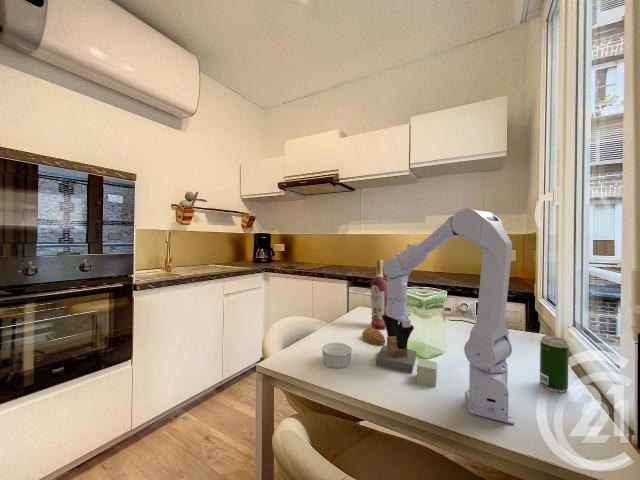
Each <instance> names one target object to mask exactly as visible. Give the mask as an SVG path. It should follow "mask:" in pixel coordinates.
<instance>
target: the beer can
mask: <svg viewBox="0 0 640 480" xmlns="http://www.w3.org/2000/svg"><path fill="white" fill-rule="evenodd" d="M539 342H540V343H539V348H540V349H539V382H540V384H541V386H542V385H543V386H542V387H544V386H545V387H547V388H549V389H553V390H556V391H561V392H560V393H564V392H563V391H566V392H567V391H568V390H569V357H570V355H569V351H570V347H569V345H568V341H567V340H566V339H563V338H559V337H555V336H551V335H550V336H549V335H543V336H541V340H540V341H539ZM545 387H544V388H545ZM547 388H546V389H547ZM549 389H548V390H549ZM556 391H555V392H556Z"/></svg>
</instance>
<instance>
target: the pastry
mask: <svg viewBox="0 0 640 480" xmlns="http://www.w3.org/2000/svg"><path fill="white" fill-rule="evenodd" d="M361 335H362V338H363V339H364V341H365V342H368V343H369V344H372V345H376V346H380V345H385V343H386V339H385V336H384V334H382V332H381V331H380V330H379V329H376V328H374V327H367V328H366V329H364V330H363V332H362V333H361Z"/></svg>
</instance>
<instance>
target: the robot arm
mask: <svg viewBox="0 0 640 480" xmlns="http://www.w3.org/2000/svg"><path fill="white" fill-rule="evenodd" d="M453 238H464V239H466V240H468V241H470V242H472V244H474V245H475V246H476V247H477V248H479V250H480V251H481V252H482V259H481V268H480V276H479V277H480V279H479V289H478V290H479V292H478V300H477V309H476V310H477V313H476V320H475V323H474V324H473V326H472V328H471V330H470V332H469V335H470V336H469V339H468V340H467V341H466V342H465V344H464V348H463V350H464V351H463V352H464V354H465V357H466V360H467V361H468V362H469V371H468V372H469V376H468V377H469V379H468V380H469V383H468V388H466V391H465V392H466V401H467V409H468V413H470V414H471V415H476V416H479V417H483V418H488V419H490V420H491V419H492V420H496V421H499V422H503V423H507V424H515V420H514V418H513V417H514V416H513V415H512V412H511V409H510V406H509V390H508V373H509V372H508V368H509V367H508V363H507V358H509V357H510V356H511V355H512V352H513V346H512V343H511V341H510V337H509V335H510V331H509V329H508V327H507V326H506V324H505V322H506V315H507V314H506V313H507V303H508V293H509V284H510V274H511V273H510V272H511V263H512V253H513V243H512V240H511V239H510V237H509V235H508V233H507V232H506V230H505V228H504V226H503V222H502V219H501V218H499V217H498V216H496V215H495V214H494V213H493V212H490V211H487V210H476V209H473V208H461V209H459V210H458V211H456V212H455V213H454V214H453V215H450V216H449V217H448V218H447V219H446V220H445V221H444V223H442V225H440V226H439V227H438V228H437V229H436V230H434V231H433V232H432V233H431V234H430V235H428V236H427V237H426V238H425V239H423V241H421V242H420V243H418V242H413V243H408V244H407V245H406V247H407V248H405V249H404V250H402V252H400V253H399V252H398V253H397V254H395V257H394V258H393V257H389V258H387V259H386V260H385V261H384V262H383V267H382V269H383V274H384V275H385V276H386V277H387V279H386V281H387V307H385V313H386V315H382V318H383V320H384V323H385V326H386V327H385V329H386V334H387V337H392V336H396V341H397V347H398V349H406V346H407V347H408V342H409V338H410V336H411V334H412V332H413V330H414V329H415V328H414V325H412V324H411V319H410V318H409V317H410V316H411V312H409V311H408V281H409V276H410V275H411V273H412V271H413V270H414V269H416V268H417V267H418V266H420V265H421V264H423V263H425V262H426V261H427V260H428V258H429V254H430V253H431V252H433V251H434V250H436V249H437V248H439V247H441V246H442V245H444V244H445V243H447V242H449V241H451V240H452V239H453Z"/></svg>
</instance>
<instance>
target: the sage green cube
mask: <svg viewBox="0 0 640 480" xmlns="http://www.w3.org/2000/svg"><path fill="white" fill-rule="evenodd" d="M437 364H438V362H437V361H434V360H428V359H422V358H418V360H417V364H416V383H417V384H421V385H425V386H430V387H435V388H436V386H437V373H438V371H437V370H438V368H437V366H438V365H437Z"/></svg>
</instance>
